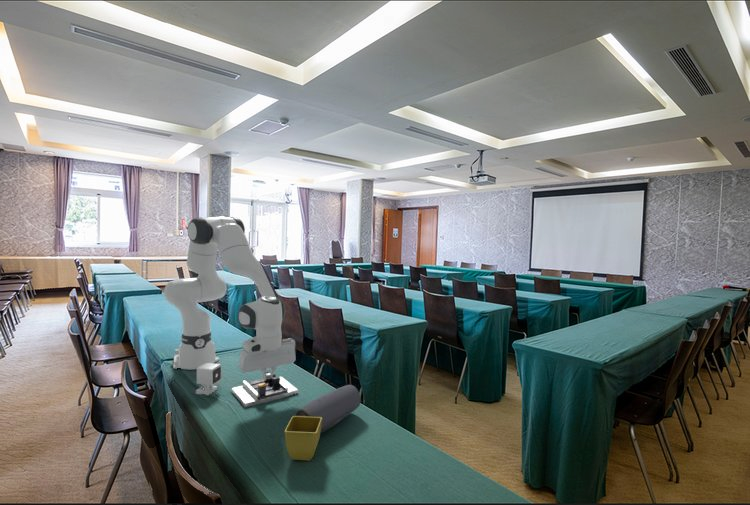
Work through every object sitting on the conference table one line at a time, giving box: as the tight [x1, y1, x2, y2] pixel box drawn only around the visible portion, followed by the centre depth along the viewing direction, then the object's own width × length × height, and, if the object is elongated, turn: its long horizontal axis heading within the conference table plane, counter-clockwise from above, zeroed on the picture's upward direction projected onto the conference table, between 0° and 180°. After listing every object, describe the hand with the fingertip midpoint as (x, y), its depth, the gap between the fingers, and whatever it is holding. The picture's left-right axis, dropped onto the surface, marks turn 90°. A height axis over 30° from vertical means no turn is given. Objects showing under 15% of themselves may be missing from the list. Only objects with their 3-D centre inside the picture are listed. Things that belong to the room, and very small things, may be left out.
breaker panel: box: [231, 369, 299, 408], centre depth 143 cm, size 15×20×6 cm
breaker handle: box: [258, 383, 266, 395], centre depth 136 cm, size 2×2×4 cm
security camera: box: [195, 363, 223, 396], centre depth 143 cm, size 6×7×10 cm
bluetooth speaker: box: [293, 384, 362, 433], centre depth 121 cm, size 23×9×10 cm, turn 145°
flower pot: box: [284, 415, 322, 461], centre depth 105 cm, size 9×9×9 cm
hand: (267, 378), depth 138 cm, fingers closed
